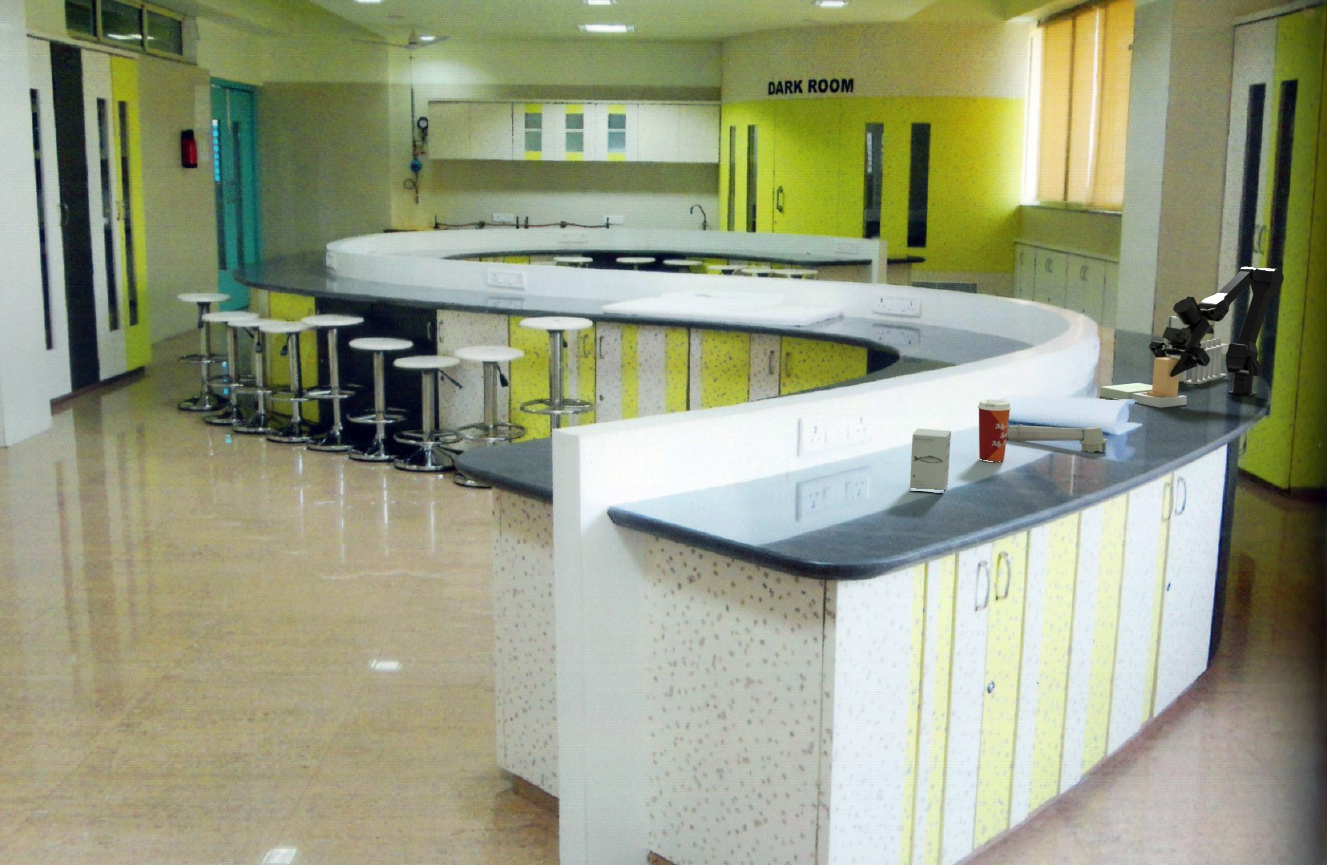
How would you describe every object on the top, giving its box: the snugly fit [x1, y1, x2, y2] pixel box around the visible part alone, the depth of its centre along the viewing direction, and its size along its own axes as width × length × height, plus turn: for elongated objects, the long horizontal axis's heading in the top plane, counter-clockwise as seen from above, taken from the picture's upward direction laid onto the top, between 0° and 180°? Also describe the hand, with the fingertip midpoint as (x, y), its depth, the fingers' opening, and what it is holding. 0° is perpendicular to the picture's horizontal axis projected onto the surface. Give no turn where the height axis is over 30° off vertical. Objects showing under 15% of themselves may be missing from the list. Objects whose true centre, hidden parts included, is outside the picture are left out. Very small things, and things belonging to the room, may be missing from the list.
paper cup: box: [977, 399, 1012, 463], centre depth 280 cm, size 8×8×14 cm
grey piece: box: [1006, 424, 1108, 453], centre depth 296 cm, size 5×7×25 cm
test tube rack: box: [1183, 337, 1230, 385], centre depth 394 cm, size 25×4×13 cm, turn 135°
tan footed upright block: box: [1147, 357, 1180, 398], centre depth 353 cm, size 7×5×13 cm
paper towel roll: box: [1163, 315, 1188, 383], centre depth 392 cm, size 7×6×21 cm
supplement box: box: [909, 428, 952, 490], centre depth 254 cm, size 7×7×13 cm
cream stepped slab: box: [1099, 382, 1188, 409], centre depth 359 cm, size 16×22×3 cm
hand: (1162, 374), depth 352 cm, fingers open, 6 cm apart
